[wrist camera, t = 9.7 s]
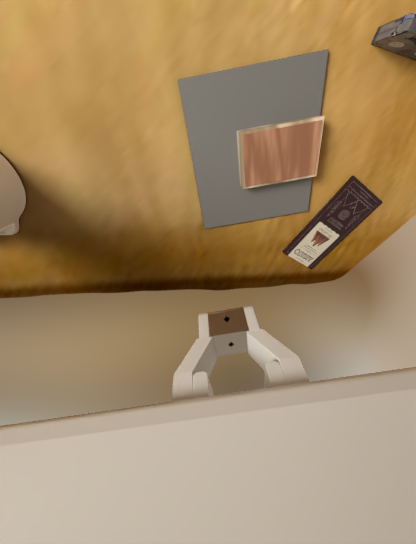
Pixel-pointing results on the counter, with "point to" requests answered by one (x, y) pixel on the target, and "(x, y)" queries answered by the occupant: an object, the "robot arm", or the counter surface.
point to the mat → (244, 115)
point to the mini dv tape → (398, 36)
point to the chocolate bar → (333, 223)
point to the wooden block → (279, 151)
